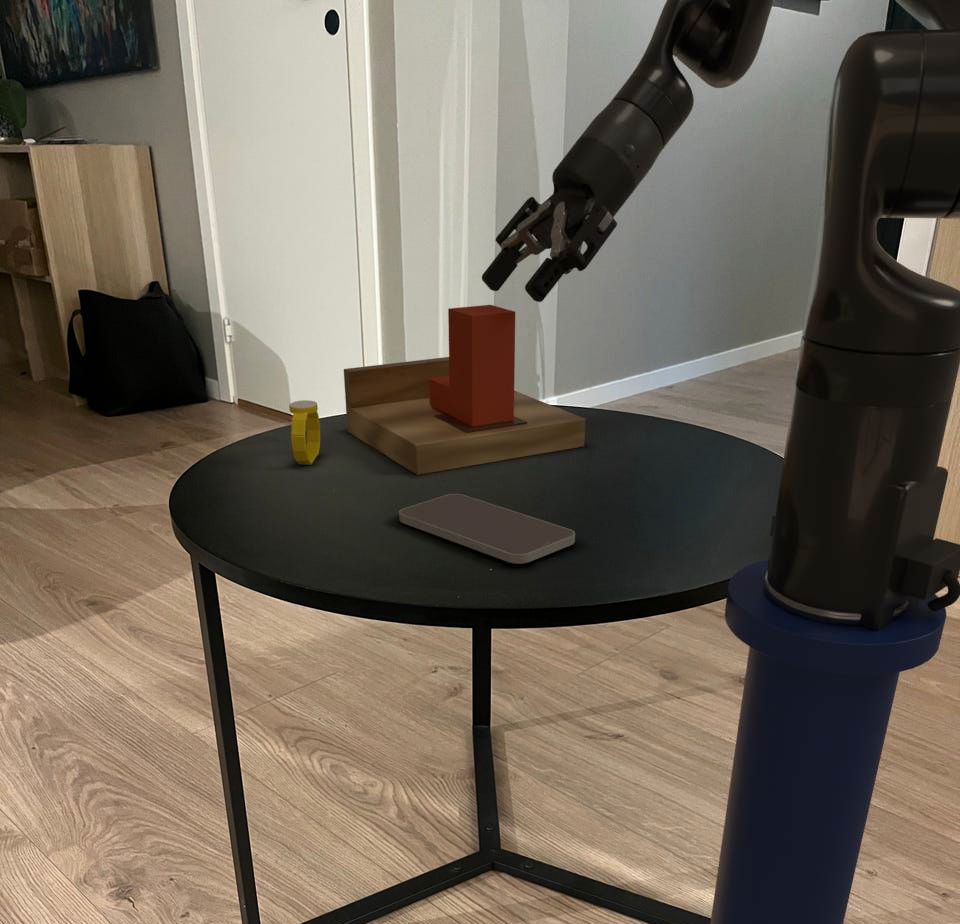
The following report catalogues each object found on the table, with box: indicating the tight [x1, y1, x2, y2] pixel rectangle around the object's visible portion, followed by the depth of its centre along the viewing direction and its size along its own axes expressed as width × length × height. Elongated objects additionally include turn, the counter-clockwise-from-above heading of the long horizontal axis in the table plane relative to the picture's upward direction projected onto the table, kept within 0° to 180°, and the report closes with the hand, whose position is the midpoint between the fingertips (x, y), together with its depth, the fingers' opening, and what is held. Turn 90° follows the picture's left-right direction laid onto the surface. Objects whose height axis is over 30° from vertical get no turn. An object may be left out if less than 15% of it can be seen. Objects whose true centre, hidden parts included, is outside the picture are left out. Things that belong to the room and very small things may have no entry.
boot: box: [429, 304, 516, 427], centre depth 103 cm, size 10×5×11 cm, turn 29°
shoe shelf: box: [343, 356, 586, 476], centre depth 107 cm, size 18×20×7 cm
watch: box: [288, 399, 321, 466], centre depth 100 cm, size 6×3×6 cm, turn 174°
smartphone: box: [398, 493, 576, 565], centre depth 83 cm, size 7×1×15 cm
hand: (509, 290), depth 100 cm, fingers open, 8 cm apart
